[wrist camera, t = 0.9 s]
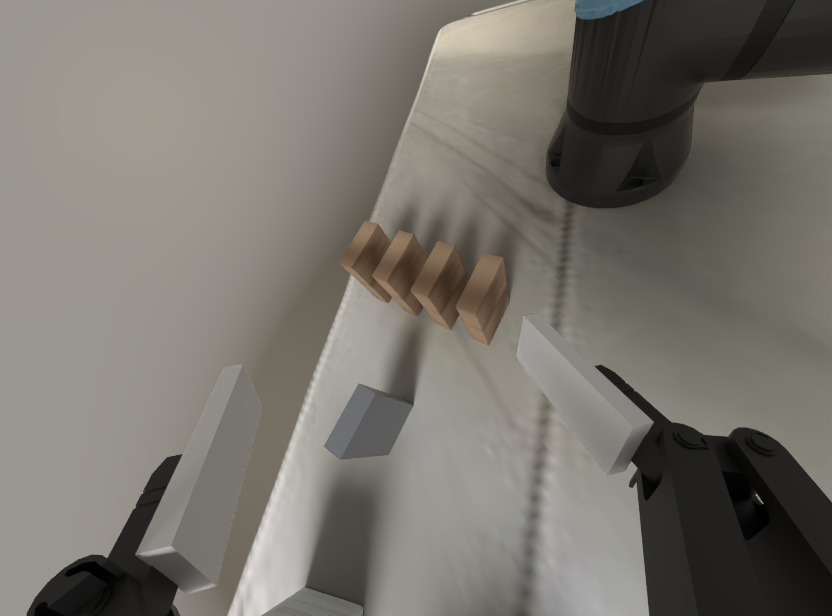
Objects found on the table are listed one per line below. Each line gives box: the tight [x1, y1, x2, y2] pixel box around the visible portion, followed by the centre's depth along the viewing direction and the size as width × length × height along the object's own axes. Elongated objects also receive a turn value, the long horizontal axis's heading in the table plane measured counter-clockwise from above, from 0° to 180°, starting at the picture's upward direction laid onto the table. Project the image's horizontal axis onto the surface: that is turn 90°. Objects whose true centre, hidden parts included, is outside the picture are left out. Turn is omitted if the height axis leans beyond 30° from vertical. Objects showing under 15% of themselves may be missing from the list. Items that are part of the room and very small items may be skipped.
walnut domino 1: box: [339, 221, 392, 303], centre depth 38 cm, size 6×2×10 cm, turn 151°
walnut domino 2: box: [372, 230, 427, 316], centre depth 36 cm, size 6×2×10 cm, turn 151°
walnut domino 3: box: [411, 241, 469, 330], centre depth 34 cm, size 6×2×10 cm, turn 151°
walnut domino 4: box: [455, 252, 510, 346], centre depth 31 cm, size 6×2×10 cm, turn 151°
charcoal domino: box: [324, 384, 413, 459], centre depth 30 cm, size 6×2×10 cm, turn 151°
